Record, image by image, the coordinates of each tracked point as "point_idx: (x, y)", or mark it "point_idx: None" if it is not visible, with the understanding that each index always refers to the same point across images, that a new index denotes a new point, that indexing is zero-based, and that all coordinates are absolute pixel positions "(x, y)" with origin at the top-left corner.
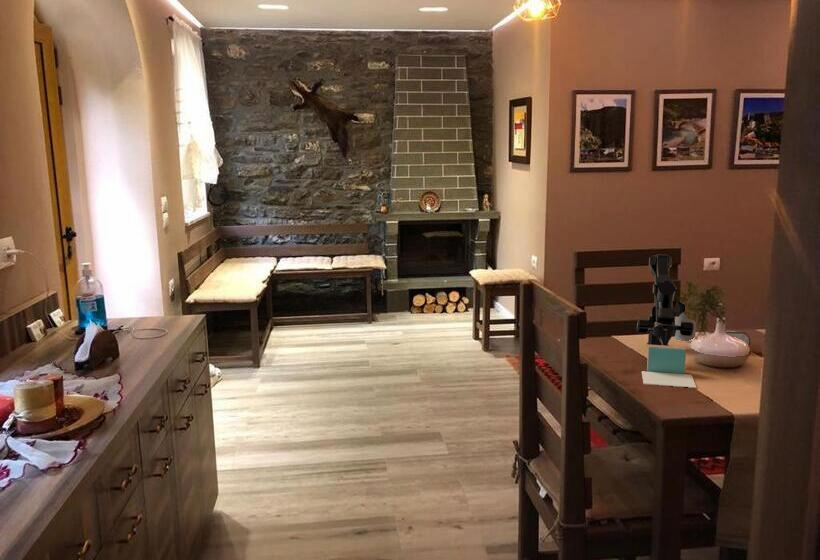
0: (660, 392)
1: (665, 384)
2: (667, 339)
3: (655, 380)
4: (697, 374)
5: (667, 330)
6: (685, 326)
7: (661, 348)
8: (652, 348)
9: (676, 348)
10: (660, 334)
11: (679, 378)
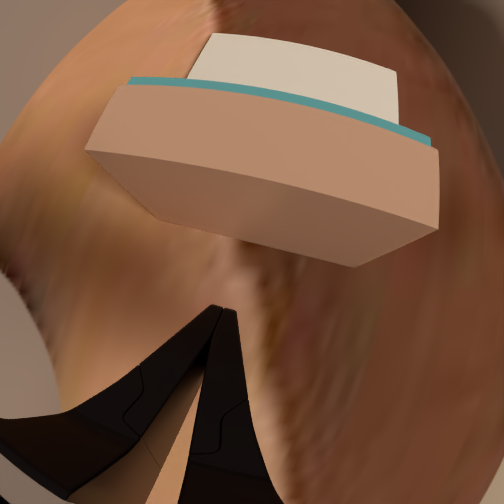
0: (345, 22)
1: (319, 51)
2: (167, 359)
3: (350, 85)
4: (114, 180)
5: (106, 463)
6: None
7: (330, 106)
8: (405, 131)
9: (189, 88)
10: (249, 450)
11: None
